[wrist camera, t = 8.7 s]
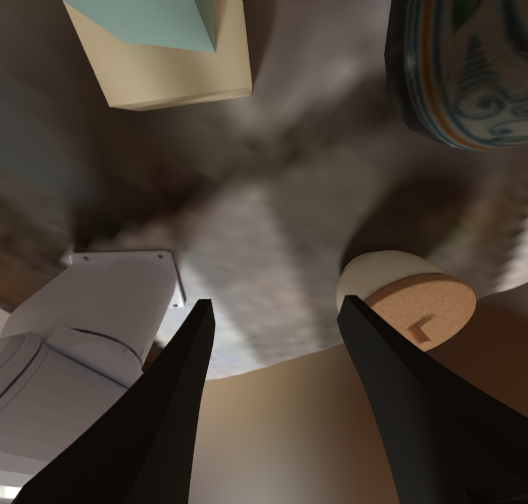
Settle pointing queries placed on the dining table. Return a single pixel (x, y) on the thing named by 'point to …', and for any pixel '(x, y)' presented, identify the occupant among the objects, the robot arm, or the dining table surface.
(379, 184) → the dining table surface
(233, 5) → the birch base block
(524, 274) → the dining table surface
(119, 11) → the teal block
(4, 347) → the robot arm
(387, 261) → the lidded jar
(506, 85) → the beer stein
